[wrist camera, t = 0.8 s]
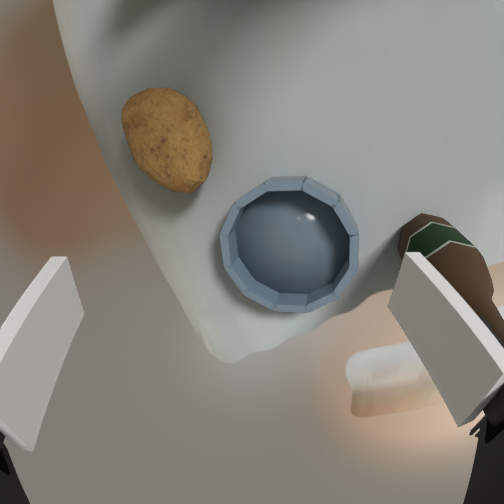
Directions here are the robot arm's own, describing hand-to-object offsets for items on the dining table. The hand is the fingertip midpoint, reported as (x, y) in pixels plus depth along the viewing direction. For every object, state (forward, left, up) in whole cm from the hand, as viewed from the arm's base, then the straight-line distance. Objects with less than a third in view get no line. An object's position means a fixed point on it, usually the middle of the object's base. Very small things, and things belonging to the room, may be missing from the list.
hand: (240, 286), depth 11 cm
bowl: (+8, -2, -27) cm, 28 cm away
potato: (-6, -15, -27) cm, 32 cm away
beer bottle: (+8, +15, -27) cm, 32 cm away
